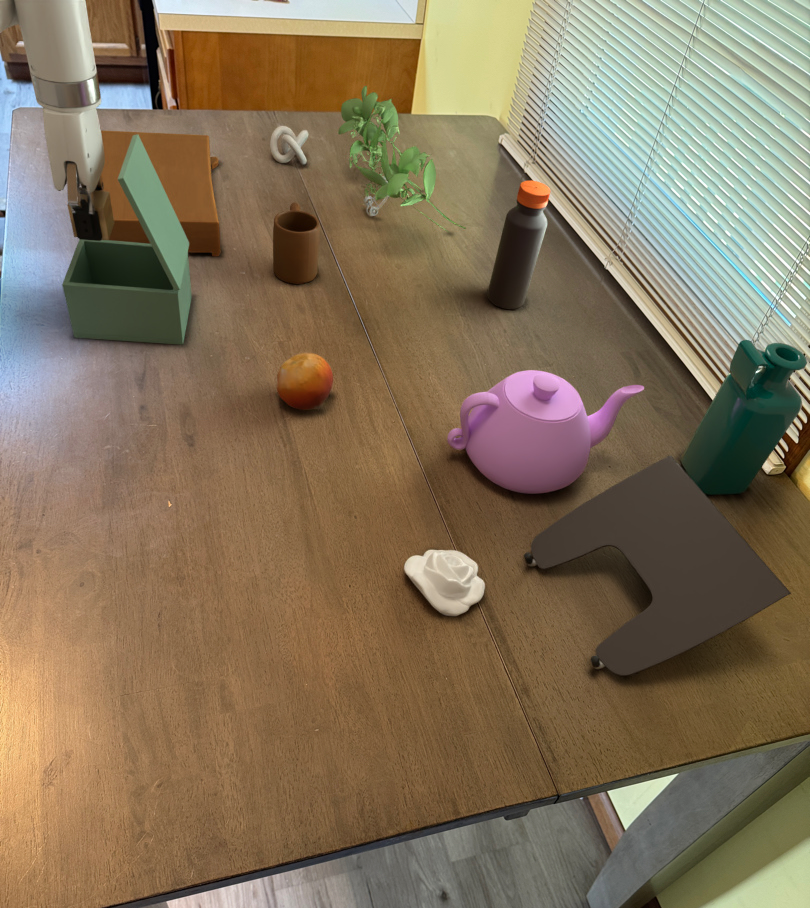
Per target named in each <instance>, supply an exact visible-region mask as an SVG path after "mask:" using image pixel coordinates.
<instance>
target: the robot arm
mask: <svg viewBox="0 0 810 908" xmlns="http://www.w3.org/2000/svg"><path fill="white" fill-rule="evenodd" d="M89 21H90V20H89V15H88V9H87V3H86V0H0V34H2V32H4V31H5V30H6V29H9V28H11V27H14V26H18V27H19V28H20V33H21V38H22V42H23V46H24V52H25V55H26V59H27V64H28V68H29V74H30V79H31V83H32V88H33V91H34V96H35V101H36V103H37V104H38V105H39V106H40V107H41V108H42V119H43V129H44V136H45V137H44V138H45V142H46V149H47V155H48V162H49V165H50V172H51V179H52V183H53V187H54V189H55V190H56V191H57V192H61V191H64V189H65V187H66V192H67V205H68V204H69V206H71V211H72V214H73V219H74V224H75V229H76V233H77V237H76V238H77V239H78V240H79V239H81V240H94V241H101V240H102V232H101V227H100V221H99V216H98V211H95V208H94V199H93V191H94V190H97V191H100V190H101V191H103V190H104V184H103V180H102V176H101V173H102V171H103V168H104V163H105V156H104V147H103V140H102V135H101V130H102V129H101V125H100V119H99V115H98V110H97V108H98V107H100V106H101V104H102V96H101V95H102V94H101V89H100V83H99V77H98V71H97V66H96V65H97V64H96V58H95V53H94V46H93V39H92V34H91V27H90V22H89ZM80 194H86V195H87V202H88V203H87V202H86V200H85V199H82V198H81V197H80Z"/></svg>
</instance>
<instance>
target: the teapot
mask: <svg viewBox="0 0 810 908" xmlns="http://www.w3.org/2000/svg"><path fill="white" fill-rule="evenodd" d="M644 389H645V386H644V385H641V384H631V385H626V386H623V387H621V388H619V389H617V390H616V391H614V392H613V393H612V394H611V395H610V396H609V398H608V399H607V400H606V401H605V402H604V404H603V405H602V407H601V408H600V409H599V410H597V411H596V412H594V413H592V414H590V415H588V414H587V411H586V407H585V405H584V402H583V399H582V398H581V396H580V393H579V392H578V391H577V389H576V388H575V387H574V386H573V385H572V384H571V383H570V382H569V381H567V380H566V379H564V378H562V377H561V376H559V375H557V374H554V373H552V372H547V371H543V370H536V369H527V370H521V371H517V372H514V373H512V374H510V375H508V376H507V377H505V378H503V379H502V380H501V381H499V382H498V383H496V384H495V385H494V386H493V387H491V388H490V389H489V390H487V391H480V392H475V393H472V394H470V395H469V396H467V397H465V399H464V400H463V402H462V404H461V406H460V410H459V420H460V428H459V427H456V428H452V429H451V430H450V431H449V432H448V434H447V438H446V441H447V444H448V445H449V446H450V447H451V448H453V449H454V450H458V451H460V450H464V449H465V451H466V454H467V456H468V457H469V459H470V461H471V462H472V464H473V465H474V466H475V467H476V469H477V470H478V471H479V472H480V474H482V475H483V476H484V477H485V478H487V480H489V481H490V482H492V483H493V484H496V485H497V486H499V487H501V488H503V489H505V490H509V491H512V492H515V493H519V494H529V495H530V494H532V495H534V494H537V495H539V494H544V493H545V494H546V493H551V492H556V491H558V490H561V489H563V488H566V487H568V486H570V485H571V484H573V483H574V482H575V481H576V480H577V479H578V478H580V477H581V476H582V474H583V473H584V471H585V469H586V467H587V464H588V461H589V459H590V458H589V457H590V452H591V449H592V448H593V447H595V446H597V445H599V444H600V443H601V442H603V441H604V440H605V439H606V438H607V436H608V435H609V434H610V432H611V431H612V429H613V427H614V424H615V422H616V419H617V417H618V414H619V412H620V411H621V409H622V407H623V406H624V404H625V403H626V402H627V401H628V400H629V399H631V398H632V397H634V396H636V395H638V394H640V393H642V392H643V391H644Z"/></svg>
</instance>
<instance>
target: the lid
mask: <svg viewBox="0 0 810 908" xmlns="http://www.w3.org/2000/svg"><path fill="white" fill-rule="evenodd" d="M118 181H119V183H120V185H121V187H122V189H123V191H124V193H125V195H126V197H127V199H128V201H129V203H130V205H131V206H132V208H133V210H134V212H135V214H136V216H137V218H138V220H139V222H140V224H141V226H142V228H143V230H144V232H145V234H146V236H147V238H148V240H149V241H150V243H151V245H152V247H153V249H154V251H155V253H156V255H157V257H158V259H159V261H160V263H161V265H162V267H163V269H164V271H165V273H166V275H167V277H168V278H169V280H170V282H171V284H172V286H173V288H174V290H175V291H178V290H180V288H181V283H182V278H183V273H184V268H185V263H186V258H187V253H188V254H189V252H188V248H189V241H188V239H187V237H186V235H185V233H184V231H183V228H182V226H181V224H180V222H179V220H178V218H177V216H176V214H175V211H174V209H173V207H172V205H171V203H170V201H169V199H168V197H167V194H166V192H165V190H164V188H163V186H162V184H161V182H160V180H159V177H158V175H157V173H156V171H155V169H154V167H153V165H152V163H151V160H150V158H149V156H148V154H147V152H146V150H145V148H144V146H143V143H142V141H141V139H140V137H139V135H138V134H137V135H133V137H132V139H131V142H130V145H129V148H128V151H127V154H126V157H125V159H124V162H123V165H122V168H121V171H120V174H119V177H118Z"/></svg>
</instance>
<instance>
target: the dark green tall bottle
mask: <svg viewBox="0 0 810 908" xmlns="http://www.w3.org/2000/svg"><path fill="white" fill-rule="evenodd" d="M737 344H738V345H737V347H736V349H735V352H734V353H733V357H732V359H731V362H730V365H729V373H728V374H726V376H725V378H724V380H723V382H722V384H721V385H720V387H719V388H718V391H717V392H716V393H715V396H714V398H713V399H712V401H711V402H710V404H709V406H708V409H707V410H706V411H705V414H703V415H704V416H703V417H702V419H701V421H700V422H699V424H698V426H697V427H696V429H695V431H694V433H693V434H692V436H691V438H690V441H689V442H688V443H687V446H686V447H685V449H684V450H683V452H682V455H681V456H680V463H681V466H683V467H682V468H683V470H684V471H685V472H686V473H687V474H688V476H689V477H690V478H691V479H692V480H693V481H694V482H695V484H696V485H697V486H698V487H699V488H700V489H701V490H702V492H703V493H704V494H705V495H709V496H710V495H711V496H712V495H713V496H714V495H739V494H742V493H744V492H746V491H747V490H748V488H749V487H750V485H751V484H752V482H753V480H754V479H755V478H756V476H757V475H758V474H759V472H760V470H761V469H762V468H763V466H764V465H765V463H766V462H767V460H768V458H769V457H770V456H771V455H772V453H773V451H775V448H776V447H777V446H778V444H779V442H780V441H781V440H782V438H783V437H784V436H785V434H786V432H787V431H788V429H789V428H790V427H791V425H792V424H793V422H794V421H795V419H796V418H797V416H798V415H799V413H800V412H801V410H802V407H803V400H802V396H801V395H800V393H799V392H798V391H797V390H796V389H795V387H794V385H793V384H792V383H791V381H790V380H789V379H790V378H791V377H792V375H793V373H794V371H801V370H804V369H805V368H806V367H807V365H808V361H807V360H808V359H807V357H806V356H805V354H804V353H803V352H802V351H801V350H799V349H798V348H796V347H794V346H792V345H789V344H786V343H783V342H772V343H769V344H766V346H765V348H764V350H760V349H759V348H757V346H756V345H755V344H754V343H753V341H751V340H749V339H743V340H740V342H739V343H737Z"/></svg>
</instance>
